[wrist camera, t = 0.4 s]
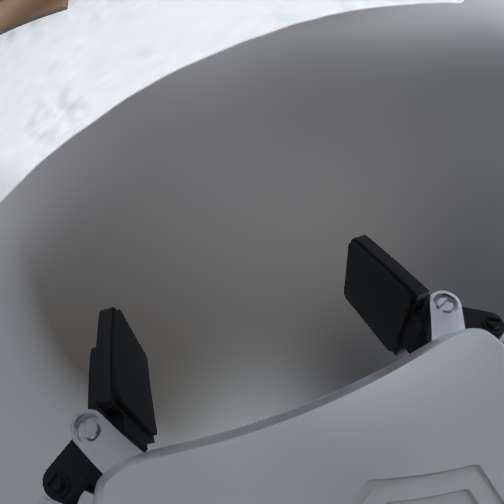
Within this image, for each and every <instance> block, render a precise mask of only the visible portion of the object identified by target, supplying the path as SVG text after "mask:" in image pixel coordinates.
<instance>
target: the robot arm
mask: <svg viewBox="0 0 504 504" xmlns="http://www.w3.org/2000/svg"><path fill="white" fill-rule="evenodd" d="M428 292H429V290H428V289H427V288H425V287H424V286H423V285H422V284H421V283H420V282H419V281H418V280H417V279H416V278H415V277H414V276H412V275H411V274H410V273H409V272H408V271H407V270H406V269H404V267H402V266H401V265H400V264H399V263H398V262H397V261H396V260H394V259H393V258H392V257H391V256H390V255H389V254H388V253H386V252H385V251H384V250H383V249H382V248H380V247H379V246H378V245H377V244H376V243H375V242H373V241H372V240H371V239H370V238H369V237H367V236H366V235H363V236H360V237H356V238H353V239H352V241H351V243H349V246H348V257H347V269H346V279H345V287H344V295H345V297H346V299H347V300H348V301H349V303H350V304H351V305H352V306H353V307H354V309H355V310H356V311H357V312H358V314H359V315H360V316H361V317H362V318H363V320H364V321H365V322H366V323H367V325H368V326H369V327H370V328H371V329H372V331H373V332H374V333H375V334H376V336H377V337H378V338H379V340H380V341H381V342H382V343H383V345H384V346H385V347H386V348H387V349H388V350H389V351H393V353H394V354H395V355H396V356H397V355H399V354H401V353H403V352H405V351H406V350H407V351H408V352H409V355H407V356H405V357H403V358H401V359H399V360H397V361H396V362H394V363H393V364H390V365H388V366H387V367H385V368H383V369H381V370H379V371H377V372H375V373H373V374H371V375H369V376H367V377H365V378H363V379H361V380H359V381H357V382H355V383H353V384H351V385H348V386H346V387H344V388H342V389H340V390H338V391H335V392H333V393H331V394H329V395H326V396H324V397H322V398H319V399H317V400H314V401H312V402H310V403H307V404H305V405H302V406H300V407H297V408H294V409H292V410H290V411H286V412H284V413H281V414H278V415H275V416H273V417H270V418H267V419H264V420H261V421H258V422H255V423H252V424H249V425H246V426H242V427H239V428H236V429H232V430H229V431H225V432H222V433H219V434H215V435H211V436H207V437H203V438H200V439H196V440H192V441H188V442H183V443H179V444H175V445H171V446H167V447H163V448H159V449H155V450H150V451H148V452H146V451H147V444H149V443H154V437H153V435H156V434H157V428H156V423H155V416H154V409H153V403H152V395H151V387H150V379H149V370H148V361H147V357H146V354H145V352H144V351H143V349H142V348H141V346H140V344H139V342H138V341H137V339H136V337H135V335H134V334H133V332H132V330H131V328H130V326H129V324H128V323H127V321H126V319H125V317H124V315H123V314H122V312H121V310H116V309H115V308H114V307H111V308H108V309H104V310H101V311H100V312H99V321H98V332H97V344H96V347H95V348H92V349H91V353H90V369H89V390H88V391H89V392H88V393H89V394H88V409H86V410H82V411H80V412H79V413H77V414H76V415H75V416H74V418H73V419H72V422H71V424H70V435H71V437H72V440H71V441H70V443H69V444H68V445H67V446H66V447H65V449H64V450H63V451H62V452H61V454H60V455H59V456H58V457H57V458H56V459H55V461H54V462H53V463H52V464H51V466H50V467H49V468H48V469H47V470H46V472H45V474H44V477H43V487H44V490H45V492H46V493H45V496H44V497H43V496H41V497H40V500H39V503H38V504H504V323H503V321H502V320H501V318H500V317H499V316H497V315H496V314H494V313H491V312H486V311H481V310H475V309H471V308H465V307H462V306H461V302H460V300H459V299H458V298H457V297H456V296H455V295H454V294H452V293H450V292H447V291H437V292H435V293H433V294H432V295H431V296H430V295H429V294H428Z"/></svg>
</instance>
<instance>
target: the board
mask: <svg viewBox="0 0 504 504" xmlns="http://www.w3.org/2000/svg"><path fill="white" fill-rule="evenodd" d="M67 7H68V0H0V34H2V33H5V32H7V31H9V30H11V29H13V28H16V27H18V26H21V25H23V24H25V23H28V22H31V21H33V20H36V19H39V18H41V17H44V16H47V15H50V14H53V13H56V12H59V11H62V10H66V9H67Z"/></svg>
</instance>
